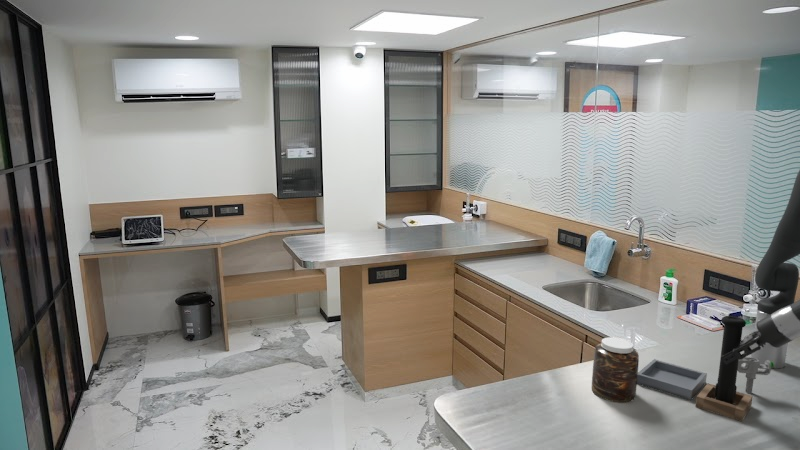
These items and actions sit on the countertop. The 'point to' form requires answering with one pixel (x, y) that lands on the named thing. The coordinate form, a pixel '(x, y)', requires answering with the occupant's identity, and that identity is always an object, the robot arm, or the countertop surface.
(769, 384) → the countertop surface
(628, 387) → the jar
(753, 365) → the mechanical component
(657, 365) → the tray
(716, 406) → the collar
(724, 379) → the tube
